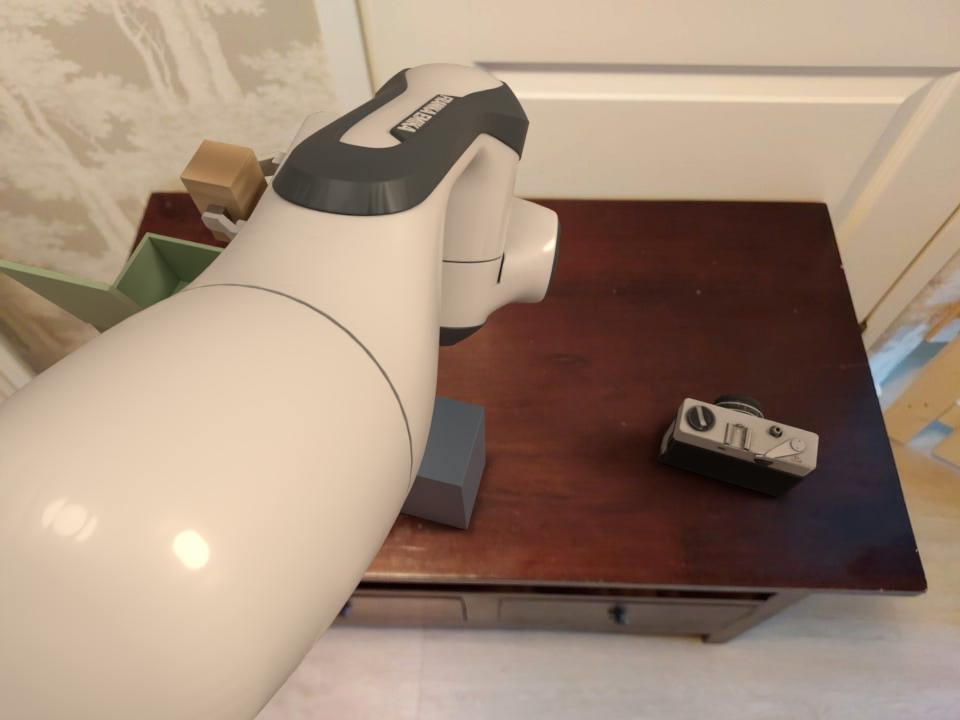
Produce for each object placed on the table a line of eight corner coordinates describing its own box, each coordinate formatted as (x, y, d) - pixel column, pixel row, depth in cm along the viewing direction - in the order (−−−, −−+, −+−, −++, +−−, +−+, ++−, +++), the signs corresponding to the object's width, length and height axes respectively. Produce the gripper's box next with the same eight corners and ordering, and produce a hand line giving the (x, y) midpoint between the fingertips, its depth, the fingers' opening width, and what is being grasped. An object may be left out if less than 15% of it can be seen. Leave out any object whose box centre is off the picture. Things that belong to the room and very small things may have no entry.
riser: (467, 530, 71) (461, 486, 57) (396, 511, 72) (375, 464, 59) (485, 461, 74) (484, 406, 61) (418, 445, 75) (403, 387, 62)
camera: (795, 441, 75) (834, 407, 66) (775, 513, 71) (813, 487, 62) (678, 394, 78) (700, 356, 69) (652, 460, 74) (672, 429, 65)
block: (260, 249, 60) (229, 187, 53) (215, 240, 60) (179, 177, 53) (280, 212, 62) (252, 148, 55) (236, 203, 62) (204, 138, 55)
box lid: (-9, 257, 59) (-13, 263, 59) (110, 284, 58) (107, 291, 57) (87, 316, 73) (84, 322, 72) (187, 340, 71) (184, 346, 71)
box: (179, 278, 87) (146, 231, 79) (263, 297, 86) (239, 251, 77) (130, 362, 81) (88, 321, 73) (219, 384, 80) (187, 345, 71)
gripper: (404, 108, 57) (259, 83, 59) (317, 295, 48) (148, 258, 50) (412, 162, 63) (279, 137, 65) (335, 339, 53) (183, 304, 55)
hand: (221, 191), depth 57 cm, fingers closed on block, 4 cm apart
